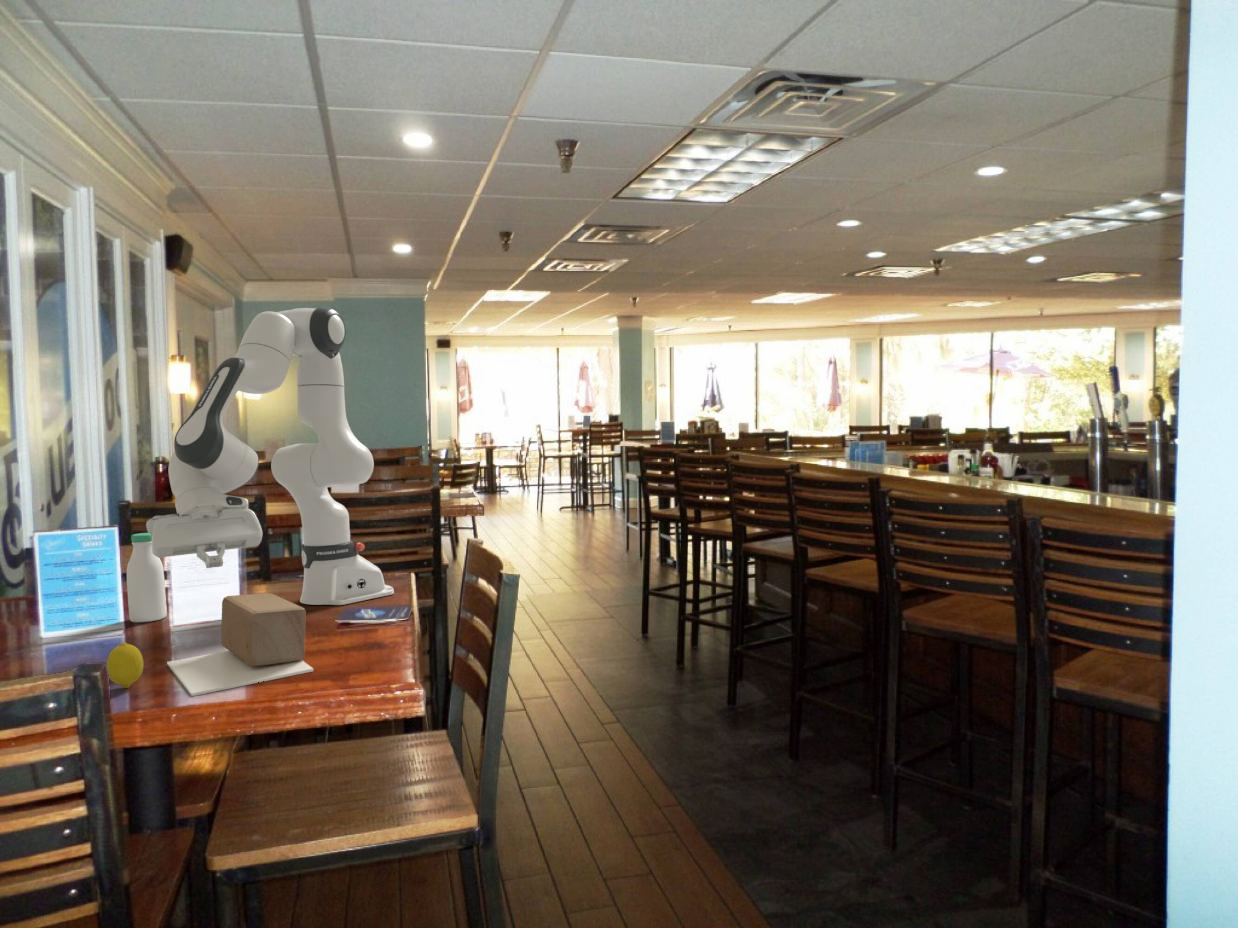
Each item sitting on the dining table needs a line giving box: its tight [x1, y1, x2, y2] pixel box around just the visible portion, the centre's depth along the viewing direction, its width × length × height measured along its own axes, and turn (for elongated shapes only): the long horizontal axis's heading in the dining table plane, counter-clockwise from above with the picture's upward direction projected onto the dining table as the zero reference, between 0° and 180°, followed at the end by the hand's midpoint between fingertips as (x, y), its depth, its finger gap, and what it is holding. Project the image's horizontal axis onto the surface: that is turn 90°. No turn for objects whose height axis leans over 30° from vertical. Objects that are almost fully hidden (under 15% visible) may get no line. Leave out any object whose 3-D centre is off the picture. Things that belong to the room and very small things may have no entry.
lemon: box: [106, 642, 144, 689], centre depth 150 cm, size 6×6×8 cm
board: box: [166, 650, 314, 697], centre depth 160 cm, size 20×24×1 cm
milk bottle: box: [126, 532, 168, 623], centre depth 202 cm, size 8×8×20 cm
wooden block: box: [220, 592, 307, 666], centre depth 166 cm, size 10×10×20 cm
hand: (214, 565), depth 171 cm, fingers closed
